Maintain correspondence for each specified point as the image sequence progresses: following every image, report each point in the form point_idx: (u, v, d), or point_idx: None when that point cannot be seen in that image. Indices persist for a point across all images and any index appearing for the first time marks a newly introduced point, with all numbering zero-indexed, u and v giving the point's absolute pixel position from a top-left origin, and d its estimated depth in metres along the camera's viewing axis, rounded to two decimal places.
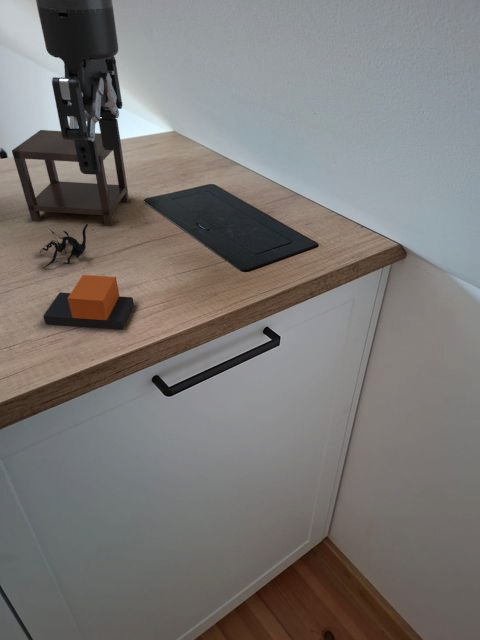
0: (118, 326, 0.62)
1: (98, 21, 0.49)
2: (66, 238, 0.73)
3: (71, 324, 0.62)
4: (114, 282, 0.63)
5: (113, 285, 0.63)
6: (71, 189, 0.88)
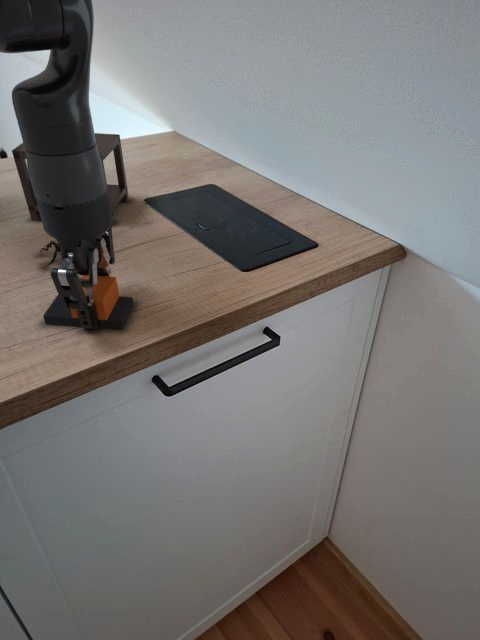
0: (118, 326, 0.62)
1: (92, 209, 0.52)
2: None
3: (71, 324, 0.62)
4: (114, 282, 0.63)
5: (113, 285, 0.63)
6: None
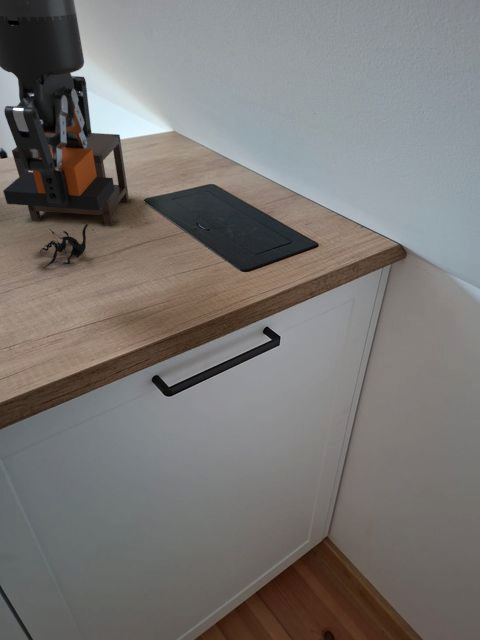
0: (93, 204, 0.51)
1: (57, 30, 0.42)
2: (66, 238, 0.73)
3: (37, 202, 0.52)
4: (89, 154, 0.53)
5: (88, 157, 0.52)
6: None
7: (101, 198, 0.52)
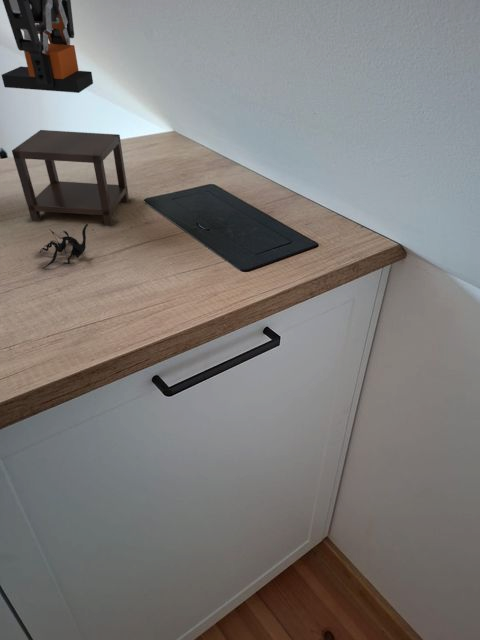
0: (74, 87, 0.64)
1: None
2: (66, 238, 0.73)
3: (29, 85, 0.64)
4: (72, 48, 0.65)
5: (71, 50, 0.65)
6: (71, 189, 0.88)
7: (80, 83, 0.64)
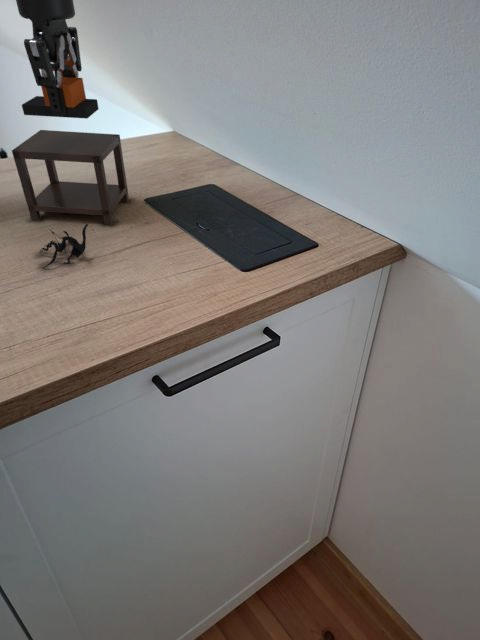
0: (83, 114, 0.75)
1: None
2: (66, 238, 0.73)
3: (45, 113, 0.76)
4: (80, 81, 0.76)
5: (79, 82, 0.76)
6: (71, 189, 0.88)
7: (88, 110, 0.76)
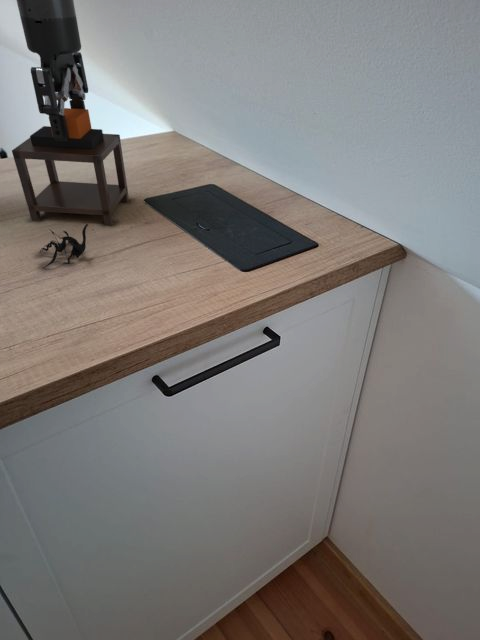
0: (89, 144, 0.78)
1: (64, 26, 0.68)
2: (66, 238, 0.73)
3: (52, 144, 0.79)
4: (86, 112, 0.79)
5: (85, 114, 0.79)
6: (71, 189, 0.88)
7: (94, 141, 0.79)
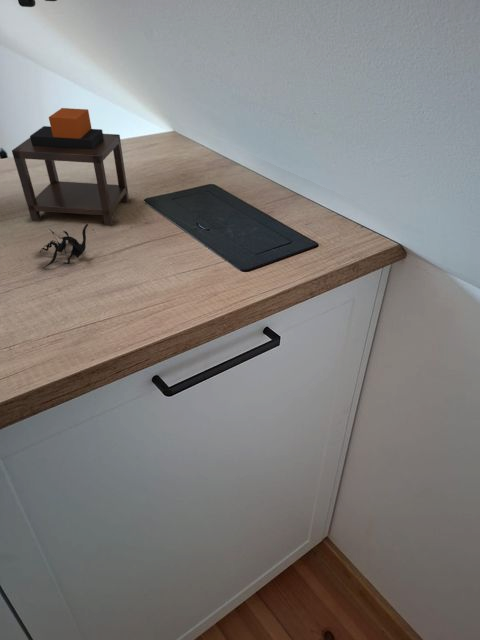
0: (89, 144, 0.78)
1: None
2: (66, 238, 0.73)
3: (52, 144, 0.79)
4: (86, 112, 0.79)
5: (85, 114, 0.79)
6: (71, 189, 0.88)
7: (94, 141, 0.79)
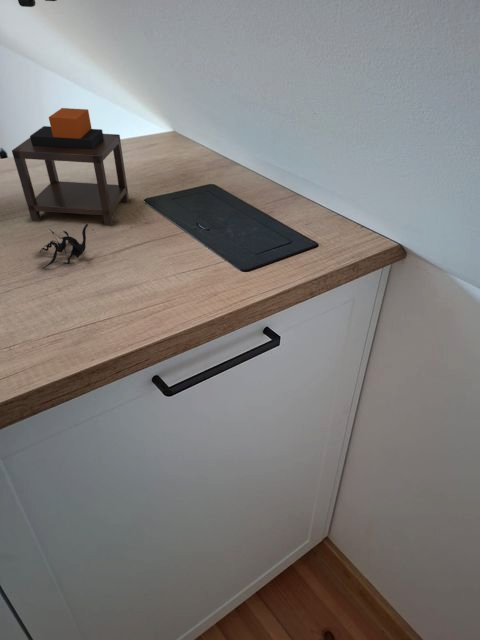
0: (89, 144, 0.78)
1: None
2: (66, 238, 0.73)
3: (52, 144, 0.79)
4: (86, 112, 0.79)
5: (85, 114, 0.79)
6: (71, 189, 0.88)
7: (94, 141, 0.79)
